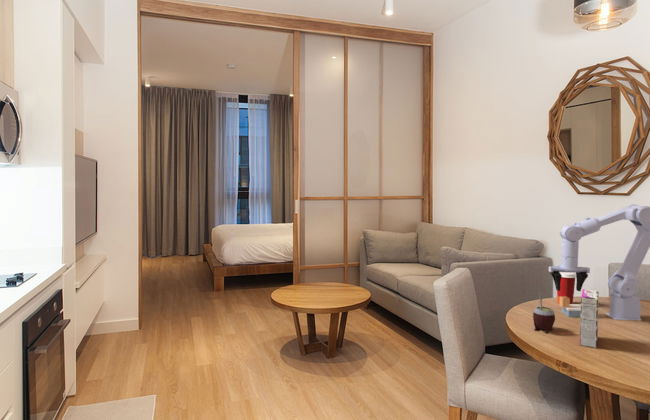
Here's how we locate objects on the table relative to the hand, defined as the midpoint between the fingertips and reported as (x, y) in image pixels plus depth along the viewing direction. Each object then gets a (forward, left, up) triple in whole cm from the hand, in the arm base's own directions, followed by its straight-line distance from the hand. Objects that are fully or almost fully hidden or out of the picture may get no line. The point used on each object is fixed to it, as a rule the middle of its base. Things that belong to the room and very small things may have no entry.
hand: (568, 290), depth 172 cm
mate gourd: (+16, +19, -10) cm, 27 cm away
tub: (-3, 0, -10) cm, 10 cm away
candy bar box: (+5, +28, -10) cm, 30 cm away
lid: (-3, 0, -7) cm, 8 cm away
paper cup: (-5, -15, -10) cm, 19 cm away
